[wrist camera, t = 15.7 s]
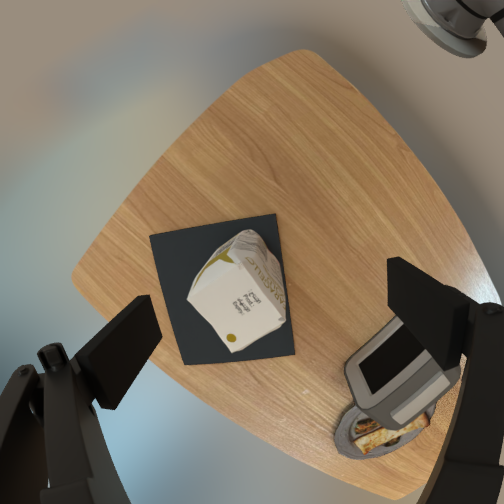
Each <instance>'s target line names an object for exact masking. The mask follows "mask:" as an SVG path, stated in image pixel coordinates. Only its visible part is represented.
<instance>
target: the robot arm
mask: <svg viewBox="0 0 504 504" xmlns="http://www.w3.org/2000/svg"><path fill="white" fill-rule="evenodd" d="M421 3H422V5H423V7H424V8H425V10H426V11H427V13H428V14H429V15H430V17H431V18H432V19H433V20H434V21H435V22H436V23H437V24H438V25H439V26H440V27H441V28H443V29H444V30H445V31H447V32H448V33H450V34H451V35H453V36H455V37H457V38H459V39H462V40H470V39H472V38H474V37H475V36H477V34H478V33H479V31H481V30H482V28H481V27H482V25H483V23H484V21H485V20H486V19H487V18H490V19H491V20H492V22H493V23H494V25H495V26H496V27H497V29H498V30H499V31H500V33H501V34H502V36H503V37H504V0H421ZM480 28H481V29H480ZM387 281H388V306H389V308H390V309H391V310H392V311H393V312H394V313H395V314H396V315H397V317H398V318H399V319H400V320H401V321H402V322H403V323H404V325H405V326H406V327H407V328H408V329H409V330H410V331H411V333H412V334H413V335H414V336H415V337H416V338H417V340H418V341H419V342H420V343H421V344H422V346H423V347H424V348H425V349H426V350H427V352H428V353H429V354H430V355H431V356H432V358H433V359H434V360H435V361H436V362H437V364H438V365H439V366H440V367H441V369H442V370H443V371H447V370H450V369H452V368H455V367H457V366H459V364H460V359H461V355H462V353H463V354H464V355H465V356H466V357H467V360H466V364H465V368H464V372H463V376H462V380H461V381H462V383H461V387H460V391H459V395H458V399H457V403H456V406H455V410H454V413H453V416H452V420H451V423H450V426H449V429H448V432H447V435H446V438H445V441H444V443H443V446H442V449H441V451H440V454H439V456H438V459H437V461H436V464H435V466H434V468H433V471H432V473H431V475H430V477H429V480H428V482H427V484H426V486H425V488H424V490H423V492H422V494H421V496H420V498H419V500H418V502H417V504H496V503H497V499H498V496H499V493H500V489H501V485H502V481H503V476H504V466H502V465H499V459H500V454H501V448H502V443H503V437H504V307H503V306H501V305H499V304H497V303H491V302H489V303H482V304H479V303H477V302H476V301H474V300H473V299H471V298H470V297H468V296H466V295H465V294H464V293H461V291H459V290H458V289H456V288H454V287H451V286H448V285H443V284H442V283H440V282H439V281H437V280H436V279H434V278H433V277H431V276H430V275H428V274H426V273H425V272H423V271H422V270H420V269H418V268H417V267H415V266H414V265H412V264H410V263H409V262H407V261H406V260H404V259H402V258H401V257H394V258H388V259H387ZM161 339H162V333H161V330H160V327H159V324H158V321H157V318H156V315H155V311H154V308H153V305H152V301H151V298H150V294H149V295H141V296H137V297H136V298H135V299H134V300H133V301H132V302H131V303H130V304H128V305H127V306H126V307H125V308H124V309H123V310H122V311H121V312H120V313H119V314H118V315H116V316H115V317H114V318H113V319H112V320H111V321H110V322H109V323H108V324H107V325H106V326H105V327H103V328H102V329H101V330H100V331H99V332H98V333H97V334H96V335H95V336H94V337H93V338H92V339H91V340H90V341H89V342H88V343H87V344H86V345H85V346H83V347H82V348H81V349H80V350H79V351H78V352H77V353H76V354H75V355H74V357H73V358H72V359H71V360H70V361H69V359H68V356H67V354H66V352H65V350H64V348H63V345H62V344H61V343H52V344H49V345H46V346H44V347H43V348H41V349H40V350H39V351H38V353H37V355H38V358H39V360H40V362H41V364H42V366H43V368H44V370H45V373H41V374H38V373H37V371H36V369H35V368H34V366H33V365H31V364H28V365H22V366H20V367H18V369H17V370H15V371H14V373H13V374H12V376H11V378H10V379H9V381H8V383H7V385H6V386H5V388H4V390H3V392H2V394H1V396H0V504H131V502H130V500H129V498H128V496H127V494H126V492H125V490H124V487H123V485H122V483H121V481H120V478H119V476H118V474H117V471H116V469H115V466H114V464H113V461H112V459H111V456H110V453H109V451H108V448H107V445H106V442H105V439H104V436H103V434H102V430H101V427H100V424H99V421H98V417H97V414H96V411H95V409H94V407H93V405H92V402H93V400H94V399H95V398H96V400H97V402H98V403H99V405H100V407H101V408H103V409H110V410H115V409H116V408H117V406H118V405H119V403H120V401H121V400H122V398H123V397H124V395H125V394H126V392H127V390H128V389H129V388H130V386H131V384H132V383H133V381H134V380H135V378H136V377H137V375H138V374H139V372H140V371H141V369H142V368H143V366H144V365H145V363H146V362H147V360H148V359H149V357H150V355H151V354H152V352H153V351H154V349H155V348H156V346H157V345H158V343H159V342H160V340H161ZM30 408H31V409H30ZM31 410H32V411H33V413H32V411H31ZM48 479H49V483H50V488H48Z"/></svg>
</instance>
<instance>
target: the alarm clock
mask: <svg viewBox="0 0 504 504" xmlns="http://www.w3.org/2000/svg"><path fill="white" fill-rule="evenodd" d="M460 374H461V367H460V364H459V366H457V367H455V368H452V369H450V370H447V371H443V370H442V369H441V367H440V366H439V365H438V364H437V362H436V361H435V360H434V359H433V358H432V356H431V355H430V354H429V353H428V352H427V350H426V349H425V348H424V347H423V346H422V344H421V343H420V342H419V341H418V340H417V338H416V337H415V336H414V335H413V334H412V333H411V331H410V330H409V329H408V328H407V327H406V326H405V325H404V323H403V322H402V321H401V320H400V319H399V318H398V317H397V315H396V316H395V317H394V318H393V319H391V320H390V321H389V322H388V323H387V324H386V325H385V326H384V327H383V328H382V329H381V330H380V331H379V332H378V333H377V334H376V335H374V336H373V337H372V338H371V339H370V340H369V341H368V342H367V343H366V344H364V345H363V346H362V347H361V348H360V349H359V350H357V351H356V352H355V353H354V354H353V355H352V356H351V357H350V358H349V359H348V360H347V362H346V364H345V366H344V375H345V378H346V380H347V383H348V386H349V388H350V391H351V394H352V397H353V399H354V402H355V405H356V406H357V408H358V409H359V410H360V411H362V412H363V413H364V414H366V415H367V416H369V417H370V418H371V419H373V420H374V421H375V422H377V423H378V424H380V425H381V426H382V427H384V428H385V429H387V430H393V431H398V430H400V429H402V428H404V427H406V426H407V425H408V424H410V423H411V422H412V421H414V420H415V419H416V418H417V417H419V416H420V415H421V414H422V413H424V412H425V411H426V410H427V409H429V408H430V407H431V406H432V405H433V404H434V403H436V402H437V401H438V400H439V399H440V398H441V397H442V396H443V395H445V394H446V393H447V392H448V391H449V390H450V389H451V388H452V387H453V386H454V385H455V384H456V383H457V381H458V380H459V378H460Z"/></svg>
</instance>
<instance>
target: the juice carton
mask: <svg viewBox="0 0 504 504" xmlns="http://www.w3.org/2000/svg"><path fill="white" fill-rule="evenodd" d="M187 300H188V301H189V302H190V303H191V304H192V305H193V306H194V308H195V309H196V310H197V311H198V312H199V313H200V314H201V315H202V316H203V317H204V318H205V319H206V320H207V321H208V322H209V323H210V324H211V325H212V326H213V328H214V329H215V331H216V332H217V334H218V335H219V337H220V338H221V339H222V341H223V342H224V343H225V344H226V345H227V347H228V348H229V350H230V351H231V353H232V352H236V351H240V350H243V349H244V348H245V347H247V346H248V345H250V344H251V343H253V342H254V341H256V340H258V339H259V338H261V337H263V336H264V335H266V334H268V333H270V332H272V331H274V330H276V329H278V328H280V327H281V325H282V324H283V323H284V322H285V321H286V317H285V314H286V302H285V292H284V286H283V280H282V274H281V268H280V263H279V262H278V260H277V259H276V257H275V256H274V255H273V254H272V253H271V252H270V251H269V250H268V248H267V246H266V244H265V242H264V241H263V239H262V238H261V237H260V235H259V234H258V233H256V232H255V231H253V230H244V231H242V232H240V233H239V234H237V235H236V236H234V237H233V238H232V239H230V240H229V241H227V242H226V243H225V244H223V245H222V246H221V247H219V248H218V249H217V250H216V251H215V252H214V254H213V255H212V256H211V257H210V259H209V260H208V261H207V263H206V264H205V265H204V267H203V268H202V269H201V270H200V272H199V273H198V274H197V276H196V277H195V279H194V281H193V284H192V287H191V289H190V292H189V294H188V298H187Z"/></svg>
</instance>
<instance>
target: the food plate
mask: <svg viewBox="0 0 504 504" xmlns="http://www.w3.org/2000/svg"><path fill="white" fill-rule="evenodd" d="M436 403H437V402H436ZM436 403H434V404H433V405H432V406H431V407H430V408H429V409H427V410H426V411H425V412H424V413H422V414H421V415H420V416H419V417H417V418H416V419H415V420H414V421H412V422H411V423H410V424H408V425H407V426H406V427H404V428H402V429H400V430H398V431H393V430H387V429H385V428H384V427H382V426H381V425H380V424H378V423H377V422H375V421H374V420H373V419H371V418H370V417H369V416H367V415H366V414H364V413H363V412H362V411H360V410H359V409H358V408H357V406H356V405H355V406H354V407H353V408H351V409H350V410H349V411H348V412H347V413H346V414H345V415H344V416H343V418H342V420H341V422H340V425H339V426H338V428H337V430H336V432H335V439H334V441H335V442H334V443H335V445H336V448H337V450H338V452H339V454H341V455H343V456H345V457H347V458H350V459H356V460H364V459H369V458H375V457H376V458H377V457H378V456H379V457H380V456H381V455H382V456H383V454H384V455H385V454H388V453H390V452H392V451H394V450H396V449H398V447H399V448H400V447H402V445H403V446H404V444H407V443H408V442H410V441H411V440H413V439H414V438H415V437H416V436H417V435H418V434H419V433H420V432H421V431H422V430H423V429H424V428H425V427H428V426H429V425H430V419H431V417H432V416H433V414H434V412H435V408H436Z"/></svg>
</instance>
